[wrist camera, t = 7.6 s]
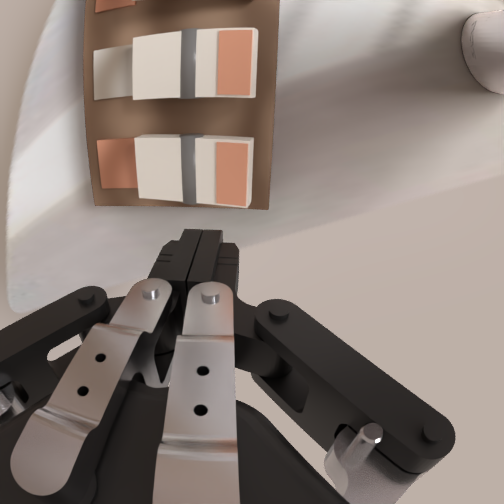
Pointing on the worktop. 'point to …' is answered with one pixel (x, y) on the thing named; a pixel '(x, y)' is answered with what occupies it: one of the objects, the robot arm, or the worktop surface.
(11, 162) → the worktop surface
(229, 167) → the rocker
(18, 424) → the robot arm
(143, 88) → the rocker
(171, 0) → the switch unit
